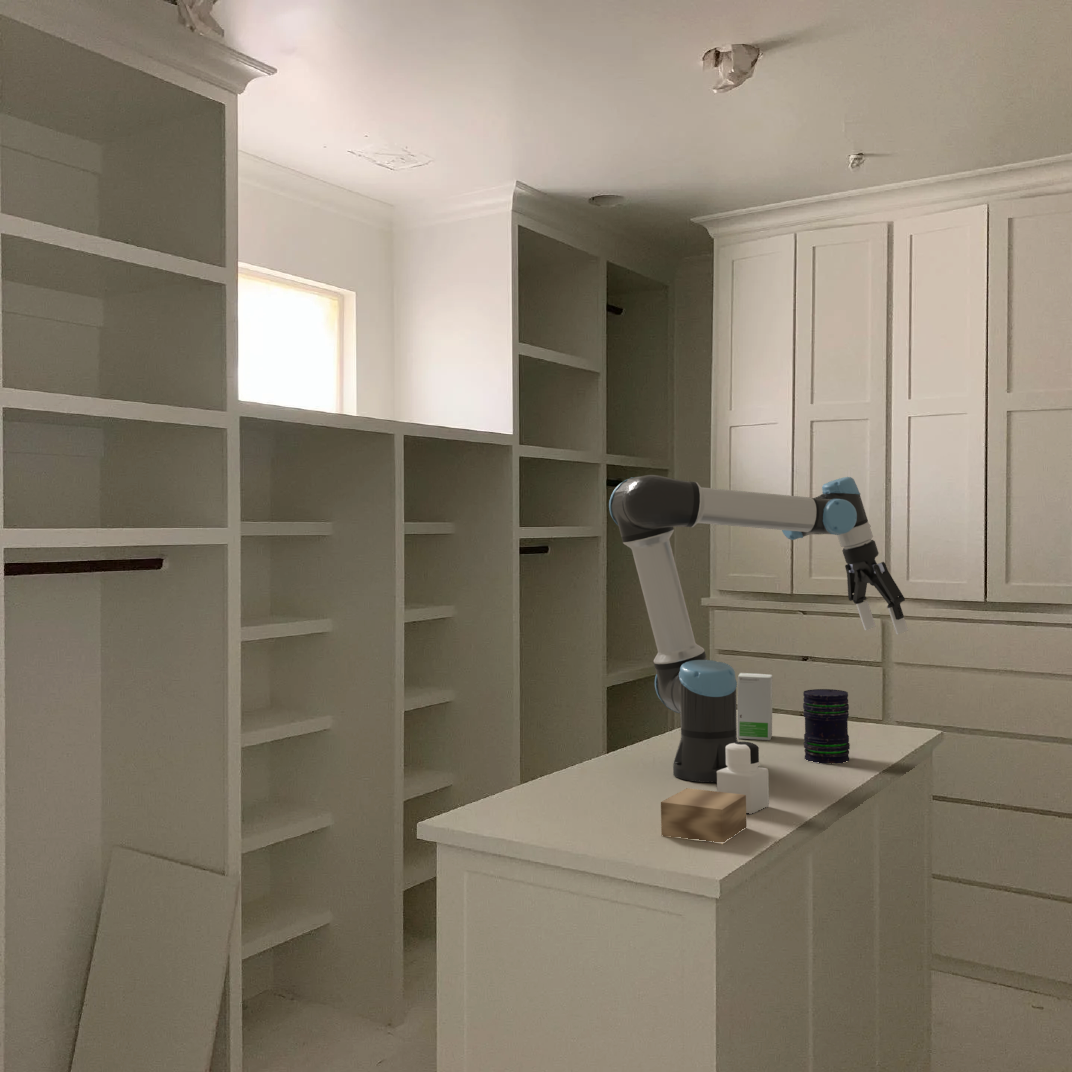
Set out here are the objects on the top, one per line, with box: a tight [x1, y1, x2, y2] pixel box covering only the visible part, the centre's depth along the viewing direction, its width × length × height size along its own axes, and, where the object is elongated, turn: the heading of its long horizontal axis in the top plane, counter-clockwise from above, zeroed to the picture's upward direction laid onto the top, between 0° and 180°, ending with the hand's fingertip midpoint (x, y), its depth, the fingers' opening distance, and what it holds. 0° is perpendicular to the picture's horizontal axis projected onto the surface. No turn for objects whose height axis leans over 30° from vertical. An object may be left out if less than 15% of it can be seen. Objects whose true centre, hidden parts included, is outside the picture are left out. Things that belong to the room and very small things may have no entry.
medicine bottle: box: [716, 741, 770, 815], centre depth 199 cm, size 7×7×12 cm
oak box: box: [660, 787, 748, 842], centre depth 183 cm, size 11×11×6 cm
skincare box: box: [737, 672, 773, 741], centre depth 265 cm, size 8×7×16 cm
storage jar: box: [802, 688, 851, 765], centre depth 239 cm, size 10×10×15 cm
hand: (885, 630), depth 247 cm, fingers open, 13 cm apart
